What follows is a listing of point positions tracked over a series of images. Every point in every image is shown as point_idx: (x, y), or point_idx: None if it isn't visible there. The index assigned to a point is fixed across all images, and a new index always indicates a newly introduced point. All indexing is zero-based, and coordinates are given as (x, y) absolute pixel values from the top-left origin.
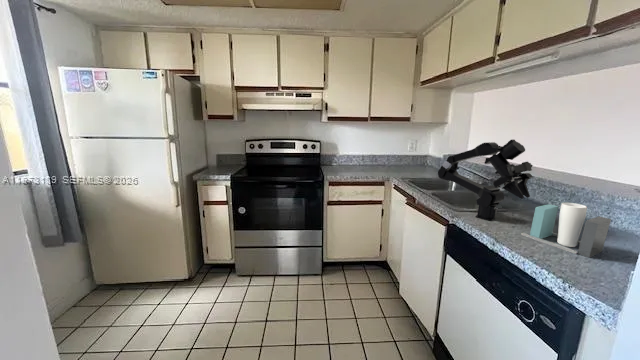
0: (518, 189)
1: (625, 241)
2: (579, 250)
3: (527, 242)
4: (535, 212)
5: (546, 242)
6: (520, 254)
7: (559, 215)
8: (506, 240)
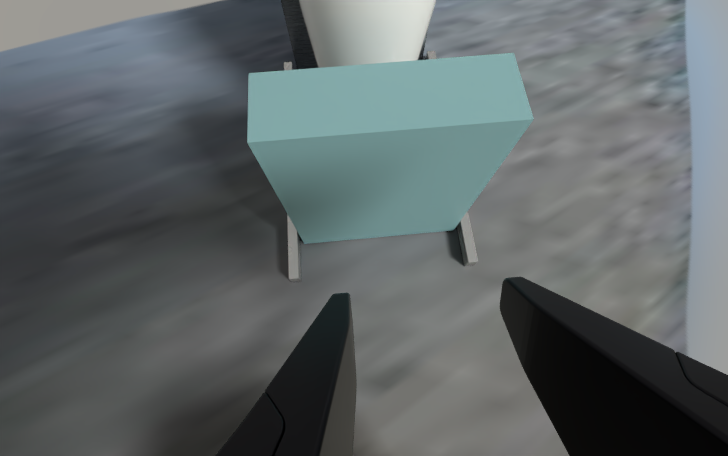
0: (693, 361)
1: (47, 60)
2: (423, 45)
3: (534, 190)
4: (509, 144)
5: None
6: (687, 126)
7: (411, 30)
8: (632, 241)
